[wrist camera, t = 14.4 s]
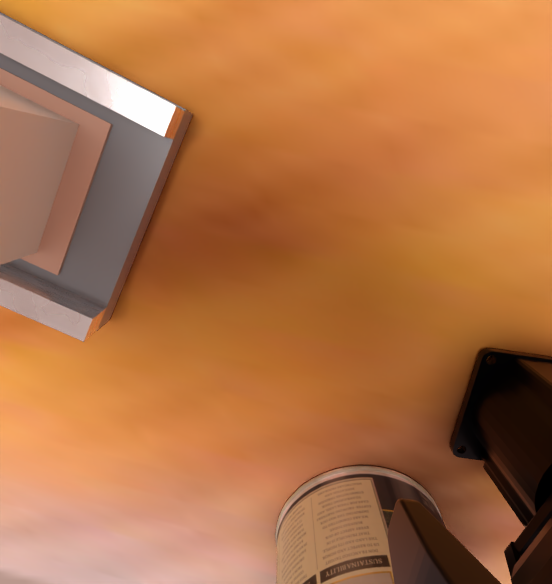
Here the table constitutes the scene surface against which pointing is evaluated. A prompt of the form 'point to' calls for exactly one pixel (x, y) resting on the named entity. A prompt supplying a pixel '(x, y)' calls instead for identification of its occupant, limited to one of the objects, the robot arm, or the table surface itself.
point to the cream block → (29, 170)
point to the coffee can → (343, 526)
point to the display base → (87, 181)
